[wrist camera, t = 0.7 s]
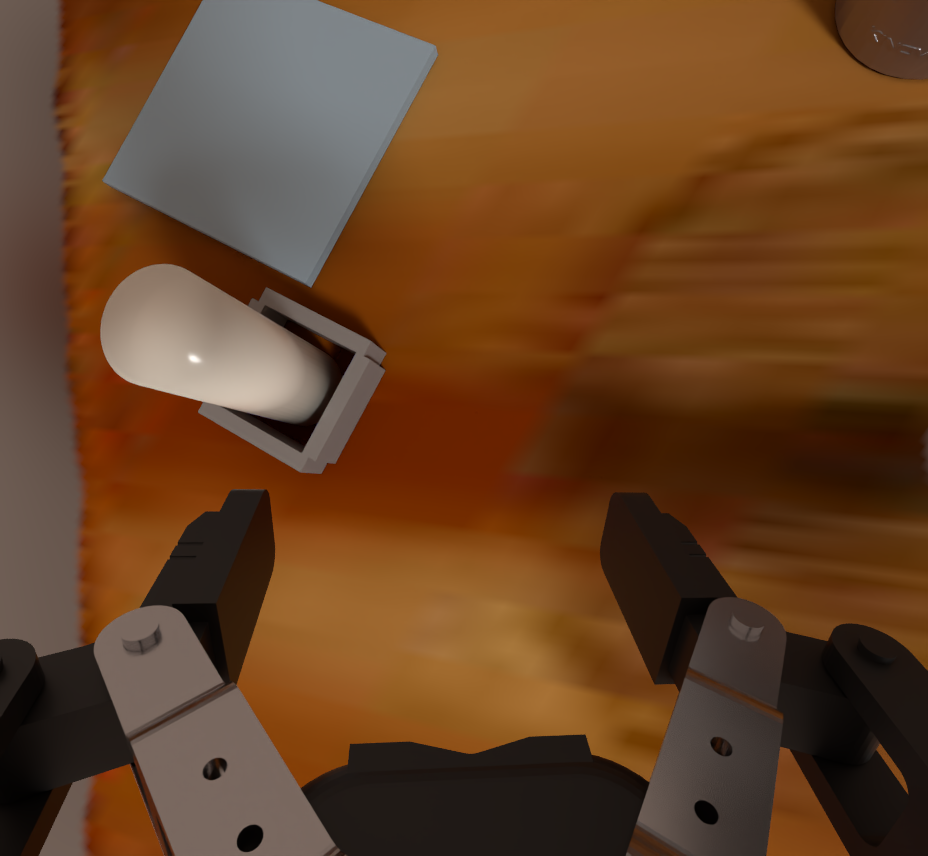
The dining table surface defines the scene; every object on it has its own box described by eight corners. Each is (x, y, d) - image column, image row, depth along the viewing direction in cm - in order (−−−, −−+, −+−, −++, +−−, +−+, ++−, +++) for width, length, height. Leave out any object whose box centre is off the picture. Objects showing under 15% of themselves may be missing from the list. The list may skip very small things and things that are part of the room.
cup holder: (282, 299, 38) (259, 283, 35) (392, 356, 36) (378, 344, 33) (220, 415, 38) (191, 408, 35) (327, 477, 36) (307, 476, 33)
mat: (229, -26, 42) (222, -36, 41) (438, 54, 38) (435, 45, 37) (110, 186, 41) (102, 180, 40) (311, 287, 38) (305, 283, 37)
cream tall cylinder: (291, 334, 38) (139, 244, 24) (356, 369, 36) (236, 295, 23) (254, 403, 37) (79, 352, 24) (318, 439, 36) (174, 408, 23)
